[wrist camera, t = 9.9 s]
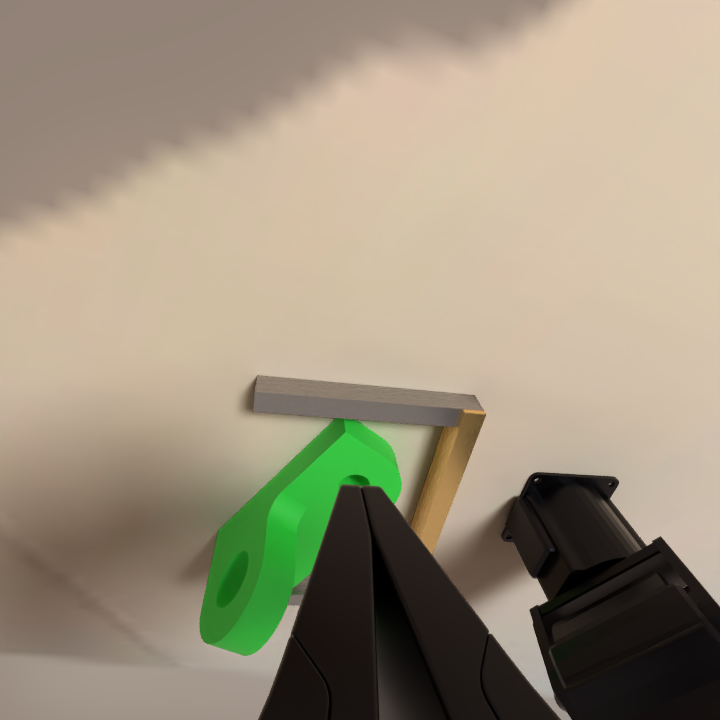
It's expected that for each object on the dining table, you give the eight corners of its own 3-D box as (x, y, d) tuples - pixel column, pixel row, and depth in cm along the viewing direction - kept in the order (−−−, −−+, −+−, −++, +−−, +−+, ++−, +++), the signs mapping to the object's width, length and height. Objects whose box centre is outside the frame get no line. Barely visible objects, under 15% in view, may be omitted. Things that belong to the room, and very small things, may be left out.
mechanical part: (292, 561, 30) (288, 695, 23) (218, 527, 28) (189, 665, 21) (415, 458, 26) (453, 580, 20) (342, 409, 24) (357, 528, 17)
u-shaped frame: (474, 395, 24) (486, 414, 23) (406, 585, 32) (411, 609, 31) (257, 375, 22) (253, 395, 21) (242, 584, 30) (239, 609, 29)
